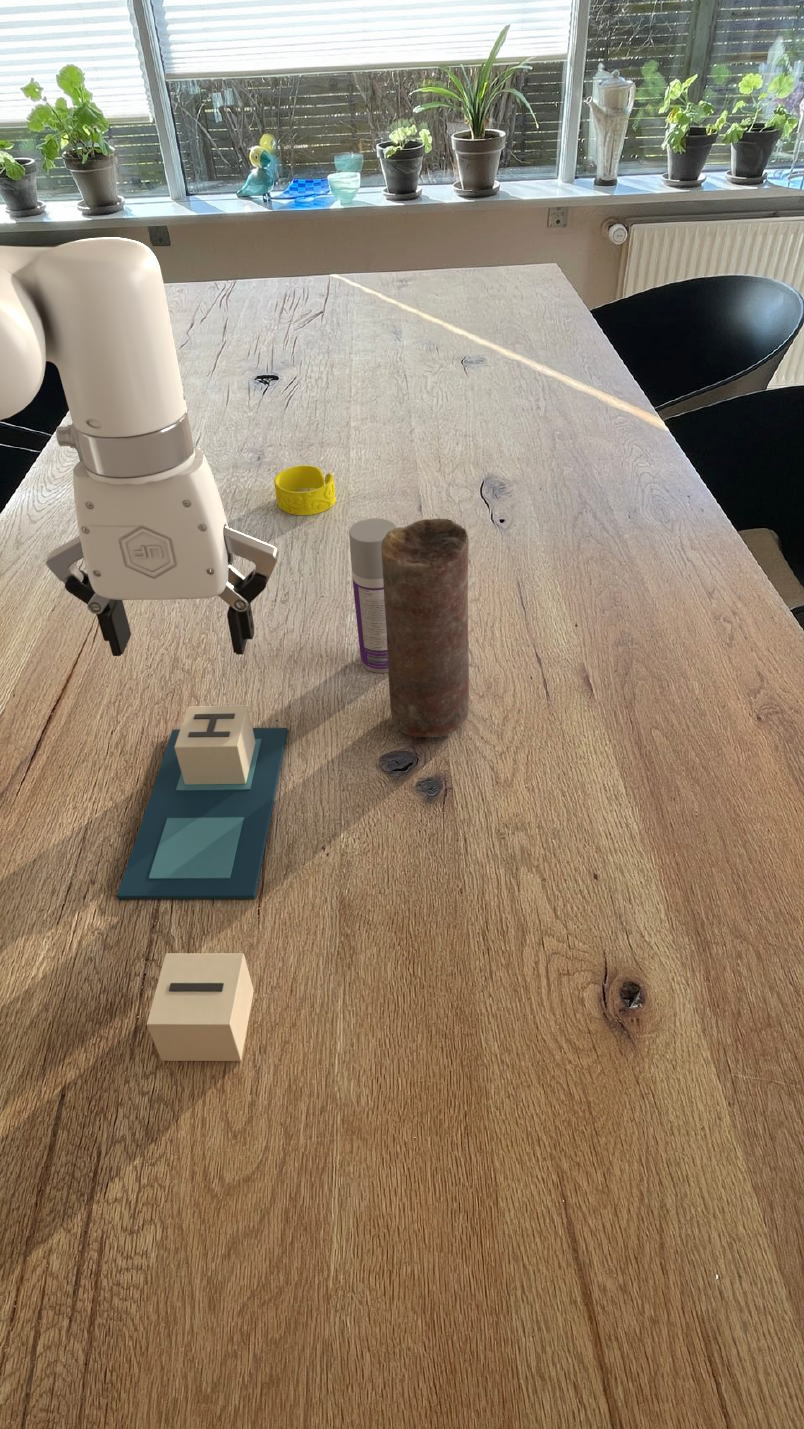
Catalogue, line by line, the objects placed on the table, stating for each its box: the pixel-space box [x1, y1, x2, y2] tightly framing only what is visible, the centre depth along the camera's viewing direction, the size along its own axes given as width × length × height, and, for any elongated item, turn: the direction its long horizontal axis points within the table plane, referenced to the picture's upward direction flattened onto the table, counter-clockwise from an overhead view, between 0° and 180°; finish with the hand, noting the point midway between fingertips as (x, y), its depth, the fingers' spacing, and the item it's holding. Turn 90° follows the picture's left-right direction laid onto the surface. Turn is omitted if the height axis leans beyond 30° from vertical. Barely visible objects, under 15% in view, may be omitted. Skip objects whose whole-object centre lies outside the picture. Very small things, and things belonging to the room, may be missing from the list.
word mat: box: [116, 727, 288, 901], centre depth 82 cm, size 11×20×1 cm, turn 178°
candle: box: [381, 518, 470, 738], centre depth 83 cm, size 8×7×20 cm
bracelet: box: [273, 464, 337, 516], centre depth 124 cm, size 7×8×3 cm
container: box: [348, 517, 397, 674], centre depth 93 cm, size 5×5×15 cm
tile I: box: [146, 952, 255, 1062], centre depth 65 cm, size 6×6×5 cm
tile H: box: [174, 704, 255, 785], centre depth 84 cm, size 6×6×5 cm
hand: (182, 645), depth 76 cm, fingers open, 9 cm apart
